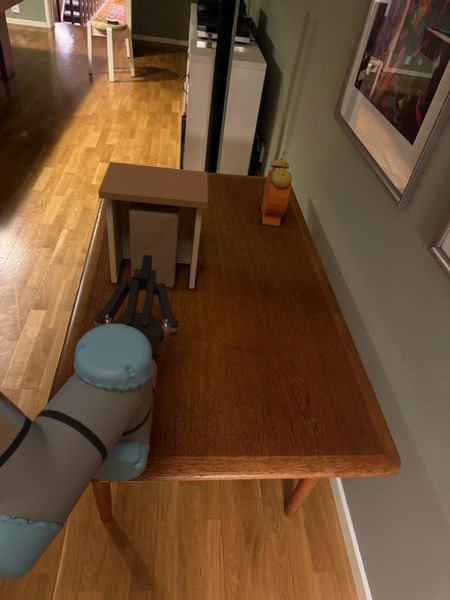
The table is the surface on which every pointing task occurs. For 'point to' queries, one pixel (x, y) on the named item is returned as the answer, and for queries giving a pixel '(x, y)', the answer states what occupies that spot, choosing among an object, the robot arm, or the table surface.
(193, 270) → the desk
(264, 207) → the alarm clock
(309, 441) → the table surface
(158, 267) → the wooden block
